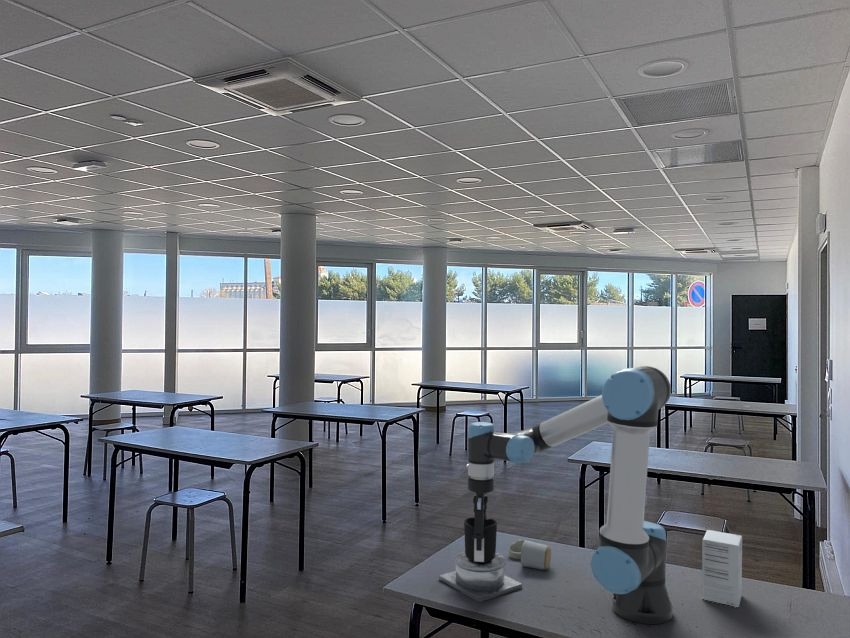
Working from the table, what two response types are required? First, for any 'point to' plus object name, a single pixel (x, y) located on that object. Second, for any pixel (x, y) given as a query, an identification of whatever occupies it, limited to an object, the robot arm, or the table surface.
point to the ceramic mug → (535, 555)
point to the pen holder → (489, 538)
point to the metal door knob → (480, 577)
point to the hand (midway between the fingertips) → (480, 554)
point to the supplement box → (722, 567)
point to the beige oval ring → (516, 549)
